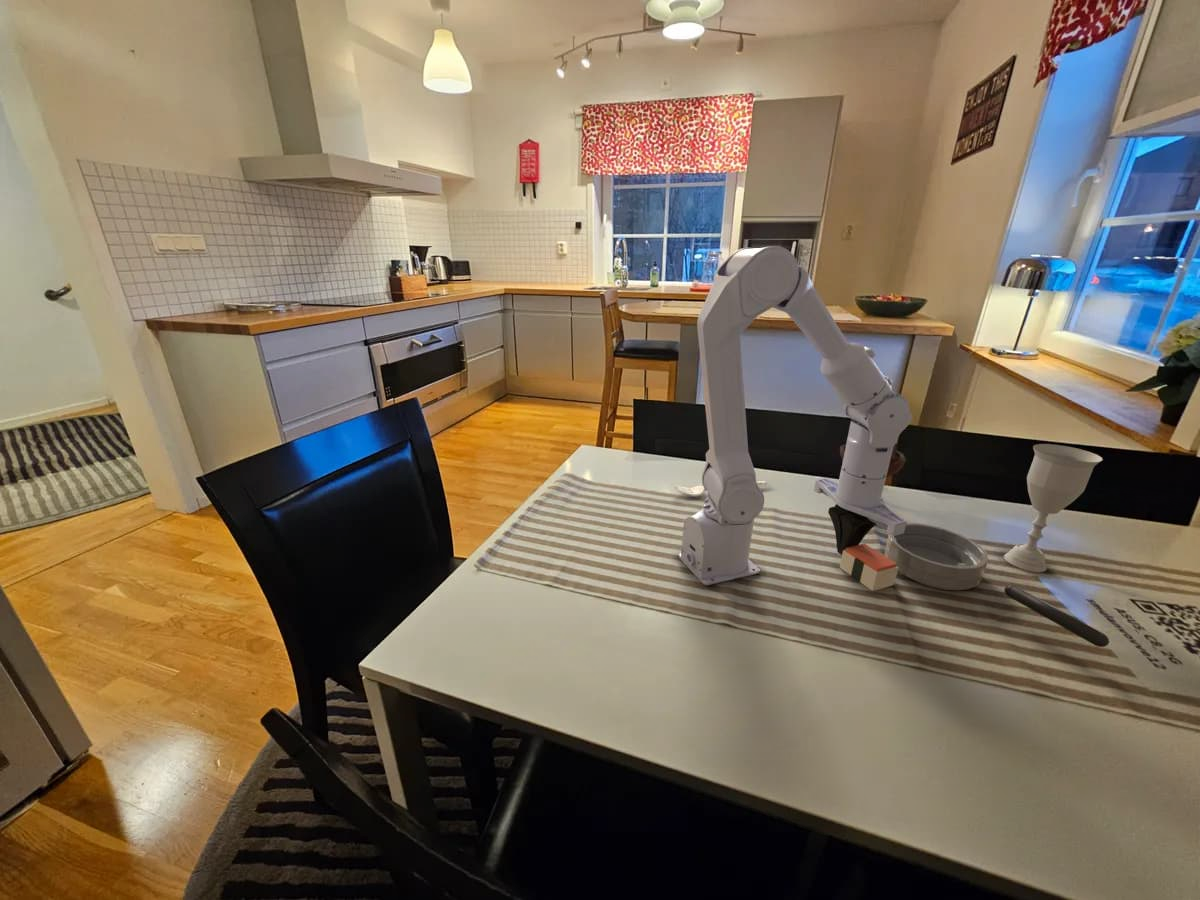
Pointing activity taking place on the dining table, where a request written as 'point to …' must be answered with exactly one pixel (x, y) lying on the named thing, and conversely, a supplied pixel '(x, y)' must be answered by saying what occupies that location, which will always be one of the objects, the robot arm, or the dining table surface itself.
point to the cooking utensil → (701, 489)
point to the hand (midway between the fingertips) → (845, 553)
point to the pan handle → (1057, 616)
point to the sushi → (869, 567)
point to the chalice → (1051, 494)
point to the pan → (937, 557)
